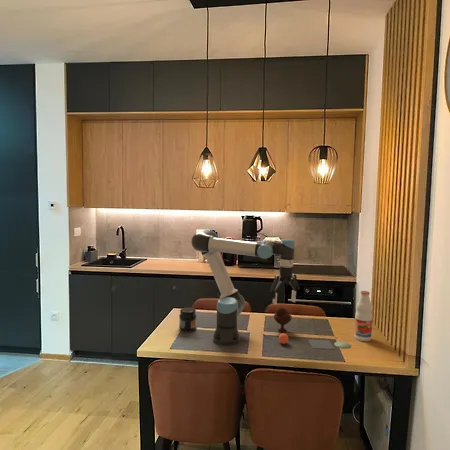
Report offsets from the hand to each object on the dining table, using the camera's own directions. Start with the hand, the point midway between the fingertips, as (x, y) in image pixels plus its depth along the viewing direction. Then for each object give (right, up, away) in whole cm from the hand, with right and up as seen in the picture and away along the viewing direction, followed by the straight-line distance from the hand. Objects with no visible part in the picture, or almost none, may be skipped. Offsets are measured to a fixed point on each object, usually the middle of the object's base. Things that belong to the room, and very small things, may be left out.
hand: (284, 302), depth 216 cm
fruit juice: (+47, -22, +6) cm, 52 cm away
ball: (-1, -19, -5) cm, 20 cm away
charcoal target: (+20, -22, -5) cm, 30 cm away
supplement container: (-57, -19, +15) cm, 62 cm away
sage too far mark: (+32, -23, -5) cm, 39 cm away
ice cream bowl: (+1, -21, +15) cm, 26 cm away
